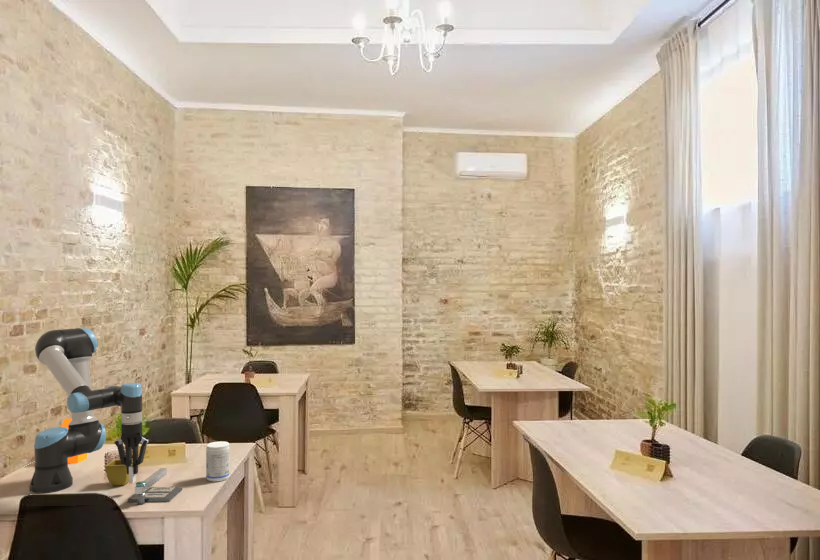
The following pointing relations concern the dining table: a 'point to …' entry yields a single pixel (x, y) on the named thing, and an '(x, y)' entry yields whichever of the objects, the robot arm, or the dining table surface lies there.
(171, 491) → the label plate
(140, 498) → the pivot post
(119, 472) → the flower pot
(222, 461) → the supplement tub
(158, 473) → the swing bar
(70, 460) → the orange juice
